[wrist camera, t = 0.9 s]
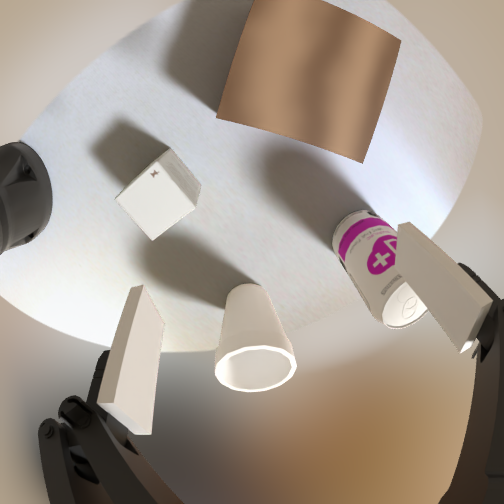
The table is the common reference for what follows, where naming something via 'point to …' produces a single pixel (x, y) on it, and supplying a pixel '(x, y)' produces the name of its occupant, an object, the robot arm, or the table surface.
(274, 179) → the table surface
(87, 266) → the table surface
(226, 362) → the foam cup
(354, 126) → the walnut block
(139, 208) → the product box
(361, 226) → the supplement can
